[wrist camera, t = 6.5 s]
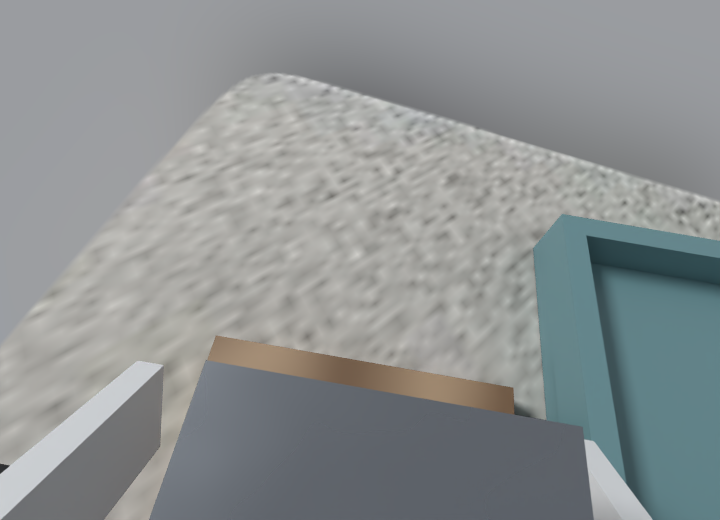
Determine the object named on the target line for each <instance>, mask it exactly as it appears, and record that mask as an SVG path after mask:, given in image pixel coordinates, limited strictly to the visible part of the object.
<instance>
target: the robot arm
mask: <svg viewBox="0 0 720 520" xmlns="http://www.w3.org/2000/svg"><path fill="white" fill-rule="evenodd" d="M163 371H164V365H160V364H154V363H148V362H143V361H136V362H135V363H134V364H133V365H131V366H130V367H129V368H128V369H127V370H125V371H124V372H123V373H122V374H121V375H119V376H118V377H117V378H116V379H115V380H113V381H112V382H111V383H110V384H109V385H107V386H106V387H105V388H104V389H102V390H101V391H100V392H99V393H98V394H96V395H95V396H94V397H93V398H92V399H90V400H89V401H88V402H87V403H86V404H84V405H83V406H82V407H81V408H79V409H78V410H77V411H76V412H75V413H73V414H72V415H71V416H70V417H69V418H67V419H66V420H65V421H64V422H63V423H61V424H60V425H59V426H58V427H56V428H55V429H54V430H53V431H52V432H50V433H49V434H48V435H47V436H46V437H44V438H43V439H42V440H41V441H40V442H38V443H37V444H36V445H35V446H33V447H32V448H31V449H30V450H29V451H27V452H26V453H25V454H24V455H23V456H21V457H20V458H19V459H18V460H17V461H15V462H14V463H13V464H12V465H11V466H9V465H4V464H0V520H104V519H105V517H106V516H107V515H108V513H109V512H110V511H111V509H112V508H113V507H114V506H115V504H116V503H117V502H118V500H119V499H120V498H121V496H122V495H123V494H124V493H125V491H126V490H127V489H128V487H129V486H130V485H131V484H132V482H133V481H134V480H135V478H136V477H137V476H138V474H139V473H140V472H141V471H142V469H143V468H144V467H145V465H146V464H147V463H148V461H149V460H150V459H151V458H152V456H153V455H154V454H155V452H156V451H157V450H158V448H159V447H160V436H161V415H162V393H163ZM584 442H585V450H586V459H587V467H588V475H589V484H590V492H591V500H592V508H593V517H594V520H653V519H652V518H651V517H650V515H649V514H648V513H647V511H646V510H645V509H644V507H643V506H642V505H641V503H640V502H639V501H638V499H637V498H636V497H635V495H634V494H633V493H632V491H631V490H630V489H629V487H628V486H627V485H626V483H625V482H624V481H623V479H622V478H621V477H620V475H619V474H618V473H617V471H616V470H615V469H614V467H613V466H612V465H611V463H610V462H609V461H608V459H607V458H606V457H605V455H604V454H603V453H602V451H601V450H600V449H599V447H598V446H597V445H596V443H595V442H594V441H590V440H584Z"/></svg>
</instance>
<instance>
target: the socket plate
mask: <svg viewBox="0 0 720 520" xmlns="http://www.w3.org/2000/svg"><path fill="white" fill-rule="evenodd" d="M208 361H214V362H219V363H225V364H231V365H236V366H242V367H248V368H253V369H259V370H265V371H270V372H276V373H282V374H287V375H293V376H299V377H304V378H310V379H316V380H321V381H327V382H333V383H338V384H344V385H349V386H355V387H361V388H366V389H372V390H378V391H383V392H389V393H395V394H400V395H406V396H412V397H417V398H423V399H429V400H434V401H440V402H446V403H451V404H457V405H463V406H468V407H474V408H480V409H485V410H491V411H497V412H502V413H508V414H514V393H513V388H511V387H506V386H500V385H494V384H489V383H483V382H477V381H472V380H466V379H460V378H455V377H449V376H443V375H438V374H432V373H426V372H421V371H415V370H409V369H403V368H398V367H392V366H386V365H381V364H375V363H369V362H364V361H358V360H352V359H347V358H341V357H335V356H330V355H324V354H318V353H312V352H307V351H301V350H295V349H290V348H284V347H278V346H273V345H267V344H261V343H256V342H250V341H244V340H239V339H233V338H227V337H221V336H216V337H215V340H214V343H213V346H212V348H211V351H210V354H209V357H208Z"/></svg>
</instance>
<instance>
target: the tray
mask: <svg viewBox="0 0 720 520" xmlns="http://www.w3.org/2000/svg"><path fill="white" fill-rule="evenodd" d="M533 251H534V264H535V277H536V290H537V302H538V315H539V328H540V341H541V353H542V366H543V379H544V392H545V404H546V417H547V421H553V422H559V423H564V424H570V425H576V426H581V427H583V434H584V440H590V441H594V442H595V443H596V445H597V446H598V447H599V449H600V450H601V451H602V453H603V454H604V455H605V457H606V458H607V459H608V461H609V462H610V463H611V465H612V466H613V467H614V469H615V470H616V471H617V473H618V474H619V475H620V477H621V478H622V479H623V481H624V482H625V483H626V485H627V486H628V487H629V489H630V490H631V491H632V493H633V494H634V495H635V497H636V498H637V499H638V501H639V502H640V503H641V505H642V506H643V507H644V509H645V510H646V511H647V513H648V514H649V515H650V517H651V518H652V519H653V520H720V241H717V240H711V239H705V238H699V237H693V236H688V235H682V234H676V233H670V232H664V231H658V230H652V229H647V228H641V227H635V226H629V225H623V224H617V223H611V222H605V221H600V220H594V219H588V218H582V217H576V216H570V215H564V214H562V215H561V216H560V217H559V218H558V219H557V221H556V222H555V223H554V224H553V225H552V227H551V228H550V229H549V230H548V231H547V233H546V234H545V235H544V236H543V237H542V238H541V240H540V241H539V242H538V243H537V244H536V246H535V247H534V248H533Z"/></svg>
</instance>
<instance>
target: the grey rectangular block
mask: <svg viewBox="0 0 720 520" xmlns="http://www.w3.org/2000/svg"><path fill="white" fill-rule="evenodd" d="M149 520H594V517H593V508H592V500H591V492H590V484H589V475H588V467H587V459H586V450H585V442H584V434H583V427H581V426H576V425H570V424H564V423H559V422H553V421H547V420H542V419H536V418H530V417H525V416H519V415H514V414H508V413H502V412H497V411H491V410H485V409H480V408H474V407H468V406H463V405H457V404H451V403H446V402H440V401H434V400H429V399H423V398H417V397H412V396H406V395H400V394H395V393H389V392H383V391H378V390H372V389H366V388H361V387H355V386H349V385H344V384H338V383H333V382H327V381H321V380H316V379H310V378H304V377H299V376H293V375H287V374H282V373H276V372H270V371H265V370H259V369H253V368H248V367H242V366H236V365H231V364H225V363H219V362H214V361H208V360H206V361H205V364H204V367H203V370H202V373H201V375H200V378H199V381H198V384H197V387H196V389H195V392H194V395H193V398H192V401H191V403H190V406H189V409H188V412H187V415H186V418H185V420H184V423H183V426H182V429H181V432H180V434H179V437H178V440H177V443H176V446H175V448H174V451H173V454H172V457H171V460H170V462H169V465H168V468H167V471H166V474H165V477H164V479H163V482H162V485H161V488H160V491H159V493H158V496H157V499H156V502H155V505H154V507H153V510H152V513H151V516H150V519H149Z"/></svg>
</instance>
